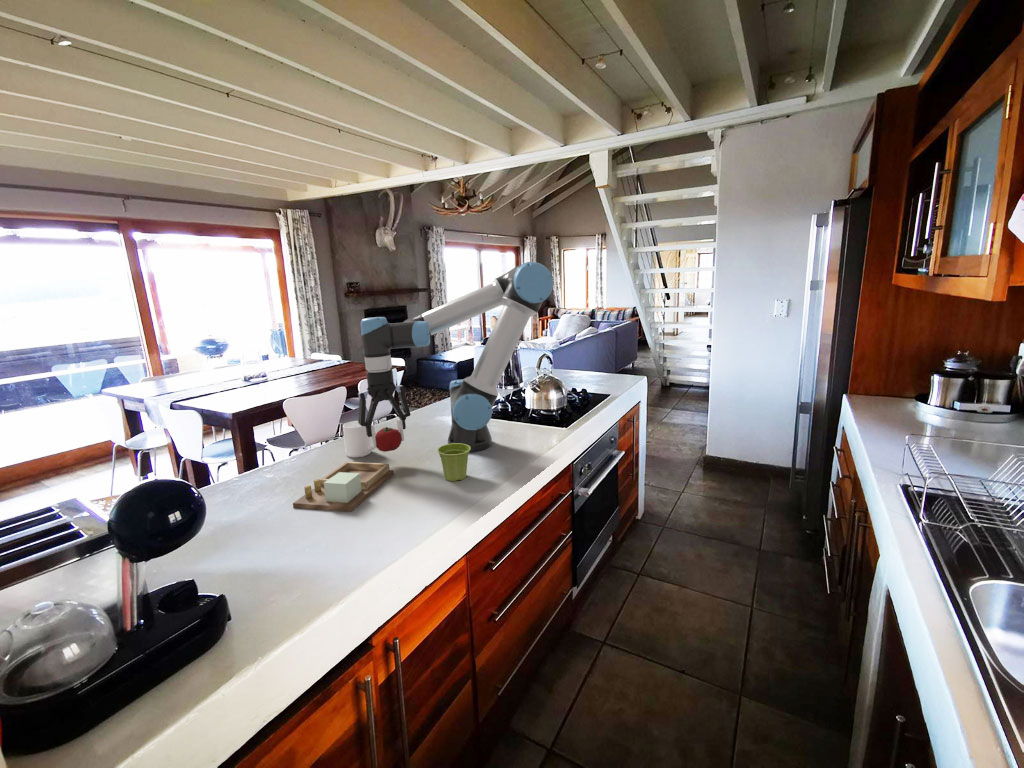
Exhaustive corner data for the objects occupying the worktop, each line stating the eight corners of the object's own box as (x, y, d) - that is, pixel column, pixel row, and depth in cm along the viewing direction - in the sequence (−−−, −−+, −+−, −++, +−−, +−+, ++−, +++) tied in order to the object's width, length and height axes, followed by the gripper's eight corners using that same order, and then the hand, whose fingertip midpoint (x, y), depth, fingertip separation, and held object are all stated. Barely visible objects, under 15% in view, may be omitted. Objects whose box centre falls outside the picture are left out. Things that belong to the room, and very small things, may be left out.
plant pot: (477, 472, 137) (475, 444, 135) (463, 485, 128) (462, 455, 127) (448, 469, 140) (446, 442, 138) (433, 482, 131) (431, 452, 130)
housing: (361, 491, 124) (359, 473, 123) (347, 502, 117) (345, 484, 116) (341, 489, 125) (339, 472, 124) (325, 501, 118) (323, 482, 117)
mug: (386, 451, 158) (383, 422, 156) (371, 460, 150) (368, 429, 148) (356, 448, 162) (353, 419, 160) (340, 456, 154) (337, 426, 152)
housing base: (394, 474, 138) (392, 460, 137) (351, 511, 115) (349, 495, 114) (344, 471, 141) (343, 458, 140) (293, 507, 118) (291, 492, 117)
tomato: (406, 448, 144) (404, 425, 142) (384, 456, 138) (381, 432, 137) (392, 443, 149) (389, 421, 148) (369, 450, 144) (367, 428, 142)
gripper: (407, 363, 147) (415, 432, 152) (339, 373, 136) (350, 448, 141) (417, 366, 141) (424, 438, 146) (346, 377, 130) (357, 454, 135)
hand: (388, 442), depth 143 cm, fingers closed on tomato, 8 cm apart
